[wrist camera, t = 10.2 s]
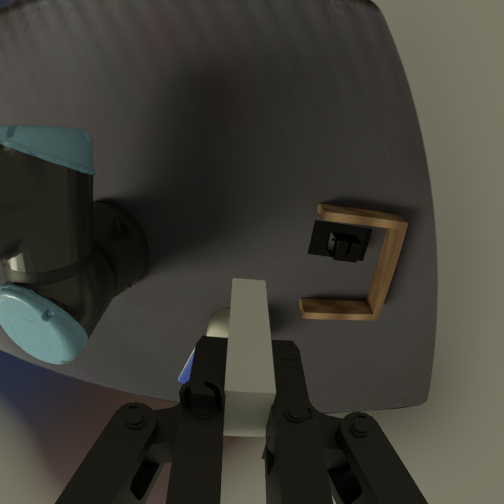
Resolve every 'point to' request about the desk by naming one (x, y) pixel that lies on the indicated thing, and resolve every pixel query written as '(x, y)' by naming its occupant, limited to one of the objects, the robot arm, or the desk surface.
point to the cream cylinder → (219, 323)
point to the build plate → (339, 241)
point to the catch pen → (382, 273)
